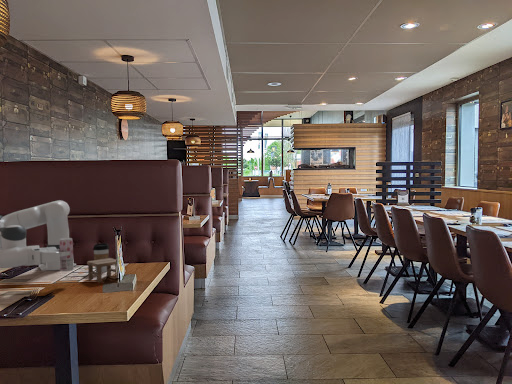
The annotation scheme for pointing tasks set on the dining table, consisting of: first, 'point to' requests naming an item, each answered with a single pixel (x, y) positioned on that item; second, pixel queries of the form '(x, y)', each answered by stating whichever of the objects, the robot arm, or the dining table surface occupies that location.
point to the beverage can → (67, 261)
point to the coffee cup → (101, 253)
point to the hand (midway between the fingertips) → (68, 252)
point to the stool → (99, 264)
